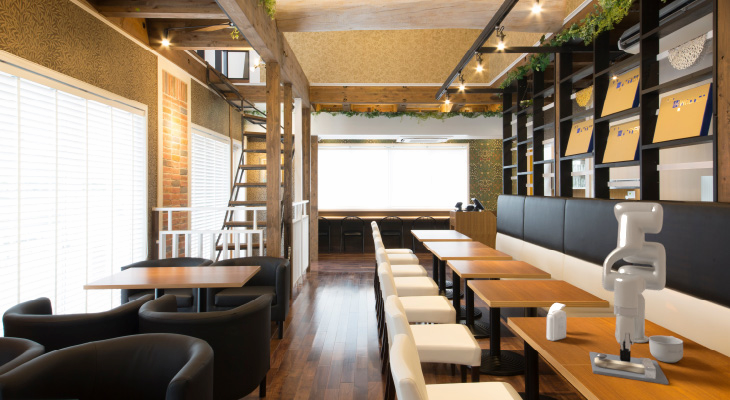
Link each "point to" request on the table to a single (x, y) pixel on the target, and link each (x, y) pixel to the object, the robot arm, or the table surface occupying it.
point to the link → (617, 364)
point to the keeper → (648, 368)
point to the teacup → (666, 348)
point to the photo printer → (556, 325)
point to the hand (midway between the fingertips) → (625, 360)
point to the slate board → (627, 374)
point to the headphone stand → (556, 307)
